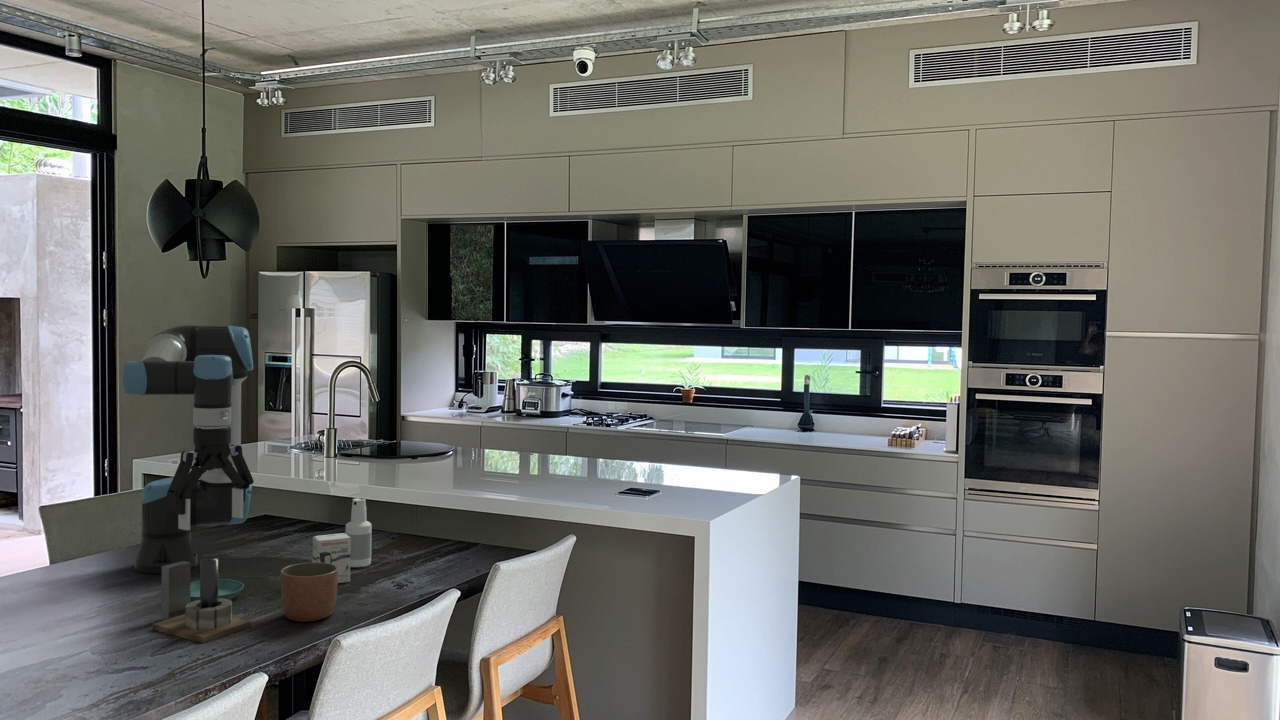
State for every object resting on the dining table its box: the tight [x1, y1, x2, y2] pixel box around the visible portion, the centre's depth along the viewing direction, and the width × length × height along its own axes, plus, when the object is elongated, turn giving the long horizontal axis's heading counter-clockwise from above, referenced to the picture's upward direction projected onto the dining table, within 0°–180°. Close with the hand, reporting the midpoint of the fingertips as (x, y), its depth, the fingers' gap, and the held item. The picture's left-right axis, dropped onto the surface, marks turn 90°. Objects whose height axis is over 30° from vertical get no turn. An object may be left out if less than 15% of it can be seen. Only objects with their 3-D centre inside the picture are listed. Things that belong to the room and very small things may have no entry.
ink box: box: [312, 532, 351, 584], centre depth 246 cm, size 8×5×12 cm, turn 124°
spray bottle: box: [345, 497, 373, 568], centre depth 263 cm, size 7×7×18 cm
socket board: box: [151, 598, 251, 644], centre depth 208 cm, size 16×12×5 cm
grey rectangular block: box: [160, 561, 192, 621], centre depth 215 cm, size 6×2×12 cm, turn 153°
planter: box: [280, 561, 338, 623], centre depth 218 cm, size 12×12×11 cm
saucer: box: [190, 578, 245, 602], centre depth 230 cm, size 15×15×3 cm
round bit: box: [199, 556, 220, 608], centre depth 208 cm, size 4×4×14 cm
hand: (211, 523), depth 209 cm, fingers open, 13 cm apart
